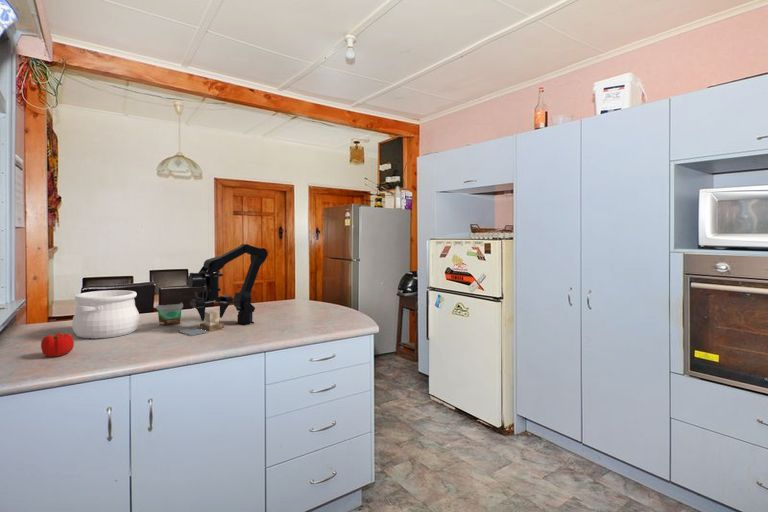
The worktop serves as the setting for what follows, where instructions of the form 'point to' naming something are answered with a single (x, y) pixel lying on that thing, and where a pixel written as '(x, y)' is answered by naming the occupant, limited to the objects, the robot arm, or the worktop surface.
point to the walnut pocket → (212, 327)
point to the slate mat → (193, 331)
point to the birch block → (211, 318)
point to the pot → (105, 314)
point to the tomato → (57, 344)
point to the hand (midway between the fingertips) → (212, 319)
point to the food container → (169, 314)
